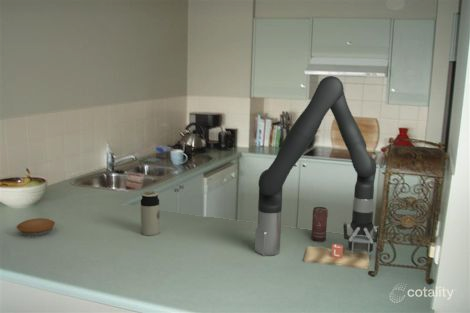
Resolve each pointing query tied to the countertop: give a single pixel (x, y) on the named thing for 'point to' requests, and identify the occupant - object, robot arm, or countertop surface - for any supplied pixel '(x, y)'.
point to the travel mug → (150, 213)
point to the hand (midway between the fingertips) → (360, 250)
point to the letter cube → (337, 251)
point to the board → (347, 258)
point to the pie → (36, 227)
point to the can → (319, 224)
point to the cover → (361, 243)
